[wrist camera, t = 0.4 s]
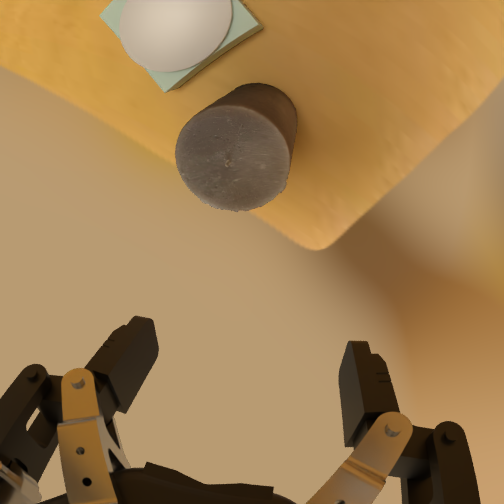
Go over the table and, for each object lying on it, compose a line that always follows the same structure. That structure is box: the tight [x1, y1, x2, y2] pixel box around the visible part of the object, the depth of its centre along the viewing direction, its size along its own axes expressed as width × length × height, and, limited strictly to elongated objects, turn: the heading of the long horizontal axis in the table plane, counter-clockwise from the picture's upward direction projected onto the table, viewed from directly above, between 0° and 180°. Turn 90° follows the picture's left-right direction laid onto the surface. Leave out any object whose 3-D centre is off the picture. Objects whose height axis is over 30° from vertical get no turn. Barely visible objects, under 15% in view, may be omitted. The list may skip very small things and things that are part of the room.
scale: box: [99, 0, 264, 93], centre depth 22 cm, size 16×13×5 cm
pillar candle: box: [175, 83, 297, 212], centre depth 27 cm, size 10×10×15 cm
